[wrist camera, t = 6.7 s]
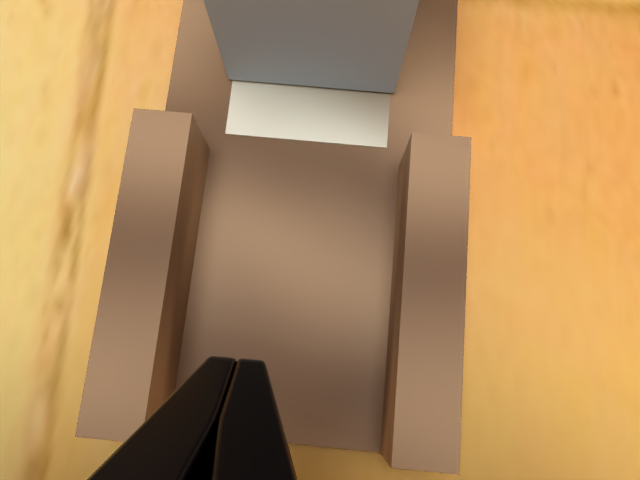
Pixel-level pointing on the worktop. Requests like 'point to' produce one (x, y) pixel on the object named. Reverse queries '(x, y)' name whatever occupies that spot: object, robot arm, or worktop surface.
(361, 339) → the tan cradle
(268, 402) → the robot arm
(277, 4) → the block
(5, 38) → the worktop surface
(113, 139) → the worktop surface
